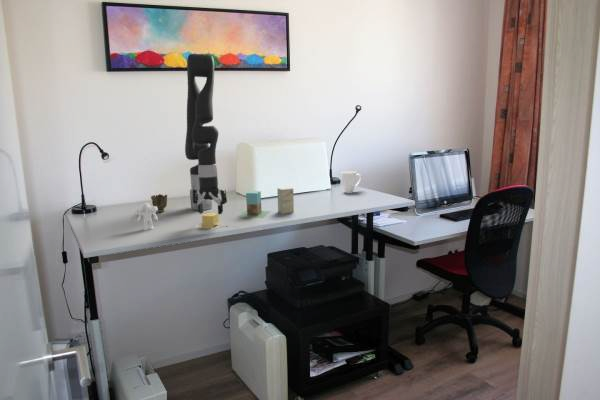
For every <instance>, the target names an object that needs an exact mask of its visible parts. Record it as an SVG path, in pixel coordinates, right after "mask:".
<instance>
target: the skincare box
mask: <svg viewBox="0 0 600 400" xmlns="http://www.w3.org/2000/svg"><path fill="white" fill-rule="evenodd" d="M294 206H295V204H294V188H293V187H291V186H290V187H289V186H288V187H280V188H279V187H277V212H278V213H279V214H281V215H284V214H290V213H294V212H295V211H294V210H295V209H294V208H295V207H294Z"/></svg>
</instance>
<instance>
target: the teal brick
mask: <svg viewBox="0 0 600 400" xmlns="http://www.w3.org/2000/svg"><path fill="white" fill-rule="evenodd" d="M261 193H262V191H261V190H249V191H247V192H246V193H245V195H246V196H245V197H246V205H247V204H256V205H257V204H259V203H260V202H261V203H262V196H261Z"/></svg>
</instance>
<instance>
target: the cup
mask: <svg viewBox="0 0 600 400" xmlns="http://www.w3.org/2000/svg"><path fill="white" fill-rule="evenodd" d="M150 199H151V200H153V201H151V203H152V208H153V207H154V206H156V207H157V208H158V211H156V213H164V212H165V208H166V207H167V205H168V194H164V195H163V194H162V193H159V194H155V195H154V194H153V195H152V196H151V195H150Z"/></svg>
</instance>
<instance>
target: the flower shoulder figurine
mask: <svg viewBox="0 0 600 400" xmlns="http://www.w3.org/2000/svg"><path fill="white" fill-rule="evenodd" d="M152 201H153V200H152V199H151V200H149V201H148V202H144V203H143V204H142V206H141V207H136V208H135V210H134V211H135V215H136V214H138V217H137V223H139V222H140V221H142V219H141V218H143V231H147V230H154V225H153V220H155V221H156V222H157V221H158V219H159V218H158V216H157V214H156V213H157V211H158V208H157V207H156V206H154V207H153V206H152V205H150V204H151V203H152ZM152 216H153V218H152Z"/></svg>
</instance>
